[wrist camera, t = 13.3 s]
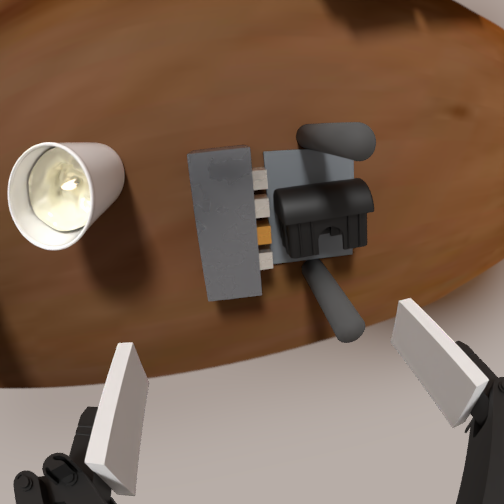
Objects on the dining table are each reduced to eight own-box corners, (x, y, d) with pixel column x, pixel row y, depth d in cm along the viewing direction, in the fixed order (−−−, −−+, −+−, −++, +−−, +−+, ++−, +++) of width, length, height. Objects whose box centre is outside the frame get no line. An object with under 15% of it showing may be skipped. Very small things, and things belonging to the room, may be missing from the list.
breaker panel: (209, 277, 39) (208, 301, 34) (192, 150, 33) (187, 154, 28) (268, 270, 40) (276, 293, 34) (259, 143, 34) (266, 146, 28)
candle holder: (146, 162, 33) (112, 177, 22) (108, 229, 36) (68, 270, 25) (83, 122, 30) (30, 123, 19) (50, 190, 33) (-4, 216, 22)
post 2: (301, 279, 41) (335, 345, 28) (301, 259, 40) (337, 320, 27) (323, 276, 41) (363, 339, 28) (323, 256, 40) (366, 314, 27)
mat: (271, 262, 40) (271, 264, 39) (263, 151, 34) (263, 152, 34) (351, 253, 40) (352, 254, 40) (351, 147, 35) (353, 148, 34)
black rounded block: (349, 173, 36) (374, 183, 29) (352, 227, 38) (375, 246, 32) (269, 183, 35) (280, 195, 29) (276, 240, 38) (288, 262, 32)
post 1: (297, 149, 34) (341, 161, 21) (295, 124, 33) (339, 122, 20) (321, 148, 35) (376, 161, 22) (319, 123, 33) (375, 122, 20)
